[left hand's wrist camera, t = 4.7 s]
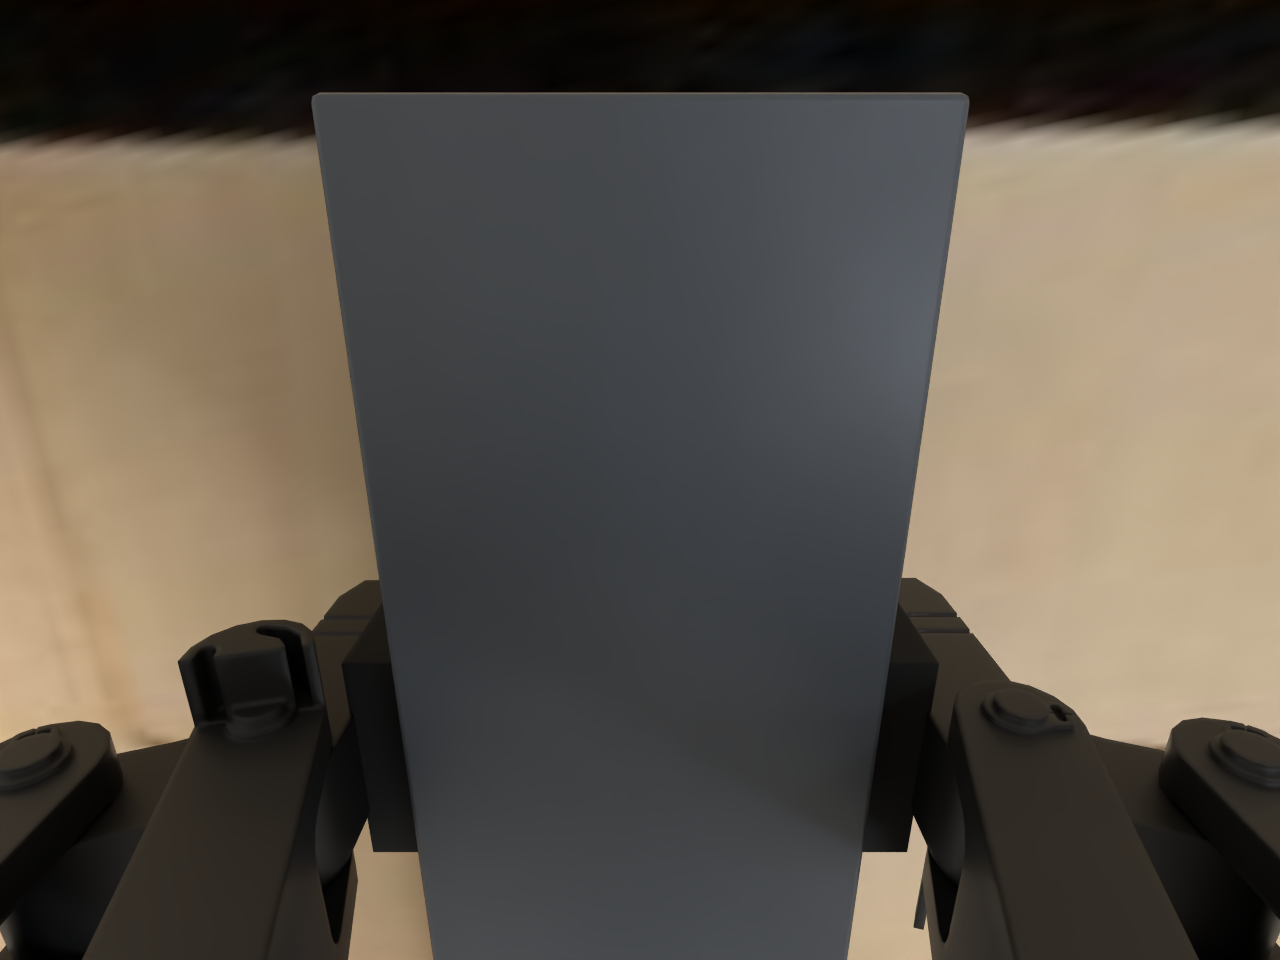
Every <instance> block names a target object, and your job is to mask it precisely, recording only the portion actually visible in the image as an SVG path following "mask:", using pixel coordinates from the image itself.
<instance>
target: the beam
mask: <svg viewBox="0 0 1280 960" xmlns="http://www.w3.org/2000/svg"><path fill="white" fill-rule="evenodd" d="M311 104H312V111H313V118H314V125H315V132H316V139H317V146H318V153H319V160H320V167H321V174H322V181H323V188H324V195H325V202H326V209H327V216H328V223H329V230H330V237H331V244H332V251H333V258H334V265H335V272H336V279H337V286H338V293H339V300H340V307H341V314H342V321H343V328H344V335H345V342H346V349H347V356H348V363H349V370H350V377H351V384H352V391H353V398H354V405H355V412H356V419H357V426H358V433H359V440H360V447H361V454H362V461H363V468H364V475H365V482H366V489H367V496H368V503H369V510H370V517H371V524H372V531H373V538H374V545H375V552H376V559H377V566H378V573H379V580H380V587H381V594H382V601H383V608H384V615H385V622H386V629H387V636H388V643H389V650H390V657H391V664H392V671H393V678H394V685H395V693H396V700H397V707H398V714H399V721H400V728H401V735H402V742H403V749H404V756H405V763H406V770H407V777H408V784H409V791H410V798H411V805H412V812H413V819H414V826H415V833H416V840H417V847H418V854H419V861H420V868H421V875H422V882H423V889H424V896H425V903H426V910H427V917H428V924H429V931H430V938H431V945H432V952H433V959H434V960H847V956H848V949H849V942H850V935H851V928H852V921H853V914H854V907H855V900H856V893H857V886H858V879H859V872H860V865H861V858H862V851H863V844H864V837H865V830H866V823H867V816H868V809H869V802H870V795H871V788H872V781H873V774H874V767H875V760H876V753H877V746H878V739H879V732H880V725H881V718H882V711H883V704H884V697H885V690H886V683H887V676H888V669H889V662H890V655H891V648H892V641H893V634H894V627H895V620H896V613H897V606H898V599H899V592H900V585H901V578H902V571H903V564H904V557H905V550H906V543H907V536H908V529H909V522H910V515H911V508H912V501H913V494H914V487H915V480H916V473H917V466H918V459H919V452H920V445H921V438H922V431H923V424H924V417H925V410H926V403H927V396H928V389H929V382H930V375H931V368H932V361H933V354H934V347H935V340H936V333H937V326H938V319H939V312H940V305H941V298H942V291H943V284H944V277H945V270H946V263H947V256H948V249H949V242H950V235H951V228H952V221H953V214H954V207H955V200H956V193H957V186H958V179H959V172H960V165H961V158H962V151H963V144H964V137H965V130H966V123H967V116H968V109H969V97H968V96H967V95H965V94H963V93H318V94H316V95H314V96H312V102H311Z"/></svg>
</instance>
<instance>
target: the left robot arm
mask: <svg viewBox="0 0 1280 960" xmlns="http://www.w3.org/2000/svg"><path fill="white" fill-rule="evenodd" d="M178 665H179V669H180V672H181V676H182V680H183V684H184V687H185V691H186V695H187V699H188V703H189V706H190V710H191V714H192V718H193V721H194V725H195V727H194V729H193V731H192V733H191V735H190V737H189V738H188V739H184V740H181V741H177V742H173V743H168V744H163V745H158V746H153V747H148V748H143V749H139V750H134V751H129V752H124V753H119V754H116V750H115V747H114V744H113V741H112V738H111V735H110V732H109V731H107V730H106V729H105V728H104V727H102V726H101V725H100V724H98V723H91V722H83V721H74V722H65V723H57V724H50V725H46V726H41V727H38V729H31V730H28V731H25V732H22V733H19V734H17V735H16V736H14V737H13V738H10V739H8V740H6V741H4V742H2V743H0V932H1V934H2V937H3V939H4V941H5V943H6V946H5V947H4V948H3V950H2V951H1V952H0V960H348V955H349V947H350V939H351V931H352V923H353V915H354V907H355V899H356V891H357V883H358V878H357V871H356V864H355V858H354V853H353V849H354V846H355V844H356V842H357V840H358V838H359V835H360V833H361V831H362V829H363V827H364V824H365V822H366V820H367V818H368V823H369V829H370V835H371V841H372V846H373V852H418V847H417V840H416V833H415V826H414V819H413V812H412V805H411V798H410V791H409V784H408V777H407V770H406V763H405V756H404V749H403V742H402V735H401V728H400V721H399V714H398V707H397V700H396V693H395V685H394V678H393V671H392V664H391V657H390V650H389V643H388V636H387V629H386V622H385V615H384V608H383V601H382V594H381V587H380V580H365V581H364V582H362V583H360V584H359V585H357V586H356V587H354V588H352V589H351V590H349V591H348V592H346V593H344V594H343V595H341V596H340V597H339V598H338V599H337V600H336V602H335V603H334V604H333V605H332V607H331V608H330V609H329V610H328V612H327V613H326V614H325V615H324V620H321V621H320V622H319V623H318V624H317V626H316V627H315V628H314V629H313V631H311V630H310V629H308V628H307V627H306V626H305V625H303V624H302V623H297V622H292V621H288V620H261V621H256V622H252V623H247V624H242V625H237V626H234V627H231V628H229V629H226V630H224V631H221V632H218V633H216V634H213V635H211V636H209V637H207V638H206V639H204V640H202V641H201V642H199V643H198V644H196V645H194V646H193V647H191V648H190V649H189V650H188V651H187V652H186V653H185V654H184V655H183V656H182V657H181V659H180V660H179V661H178ZM913 815H914V817H915V820H916V822H917V824H918V826H919V828H920V831H921V833H922V835H923V837H924V839H925V842H926V844H927V846H928V847H927V853H926V858H925V863H924V869H923V874H922V880H921V885H920V891H919V896H918V901H917V907H916V913H915V920H914V928H918V929H924V924H925V919H926V914H927V921H928V929H929V937H930V945H931V953H932V960H1280V947H1279V946H1278V945H1277V943H1276V940H1277V938H1278V936H1279V934H1280V739H1279V738H1276V737H1274V736H1272V735H1270V734H1268V733H1267V732H1265V731H1263V730H1261V729H1258V728H1255V727H1252V726H1249V725H1248V726H1245V725H1244V724H1242V723H1237V722H1233V721H1226V720H1218V719H1210V718H1197V719H1190V720H1183V721H1181V722H1180V723H1179V724H1178V725H1176V726H1175V727H1174V728H1173V729H1172V730H1171V733H1170V737H1169V740H1168V743H1167V746H1166V749H1165V751H1163V750H1158V749H1153V748H1148V747H1143V746H1138V745H1133V744H1128V743H1124V742H1119V741H1114V740H1109V739H1105V738H1101V737H1097V736H1093V735H1090V734H1089V732H1088V730H1087V728H1086V726H1085V724H1084V723H1083V722H1082V721H1081V719H1080V718H1079V717H1078V715H1077V714H1076V713H1075V712H1074V710H1072V709H1071V708H1070V707H1068V706H1067V705H1065V704H1064V703H1063V702H1061V701H1060V700H1058V699H1057V698H1056V697H1054V696H1052V695H1050V694H1047V693H1045V692H1043V691H1041V690H1038V689H1036V688H1034V687H1032V686H1029V685H1024V684H1020V683H1016V682H1012V681H1010V680H1009V678H1008V677H1007V676H1006V675H1005V673H1004V672H1003V671H1002V670H1001V668H1000V667H999V666H998V665H997V663H996V662H995V661H994V660H993V658H992V657H991V656H990V655H989V653H988V652H987V651H986V650H985V648H984V647H983V646H982V645H981V643H980V642H979V641H978V639H977V638H976V637H975V636H974V634H973V633H970V632H969V628H968V627H967V626H966V624H965V623H964V622H963V621H962V619H961V618H960V617H957V613H956V612H955V611H954V609H953V608H952V607H951V606H950V604H949V603H948V602H947V601H946V599H945V598H944V597H943V596H942V594H940V593H939V592H937V591H935V590H934V589H932V588H931V587H929V586H927V585H926V584H924V583H923V582H921V581H919V580H918V579H916V578H901V585H900V592H899V599H898V606H897V613H896V620H895V627H894V634H893V641H892V648H891V655H890V662H889V669H888V676H887V683H886V690H885V697H884V704H883V711H882V718H881V725H880V732H879V739H878V746H877V753H876V760H875V767H874V774H873V781H872V788H871V795H870V802H869V809H868V816H867V823H866V830H865V837H864V844H863V851H862V852H907V849H908V843H909V837H910V832H911V826H912V820H913Z"/></svg>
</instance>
